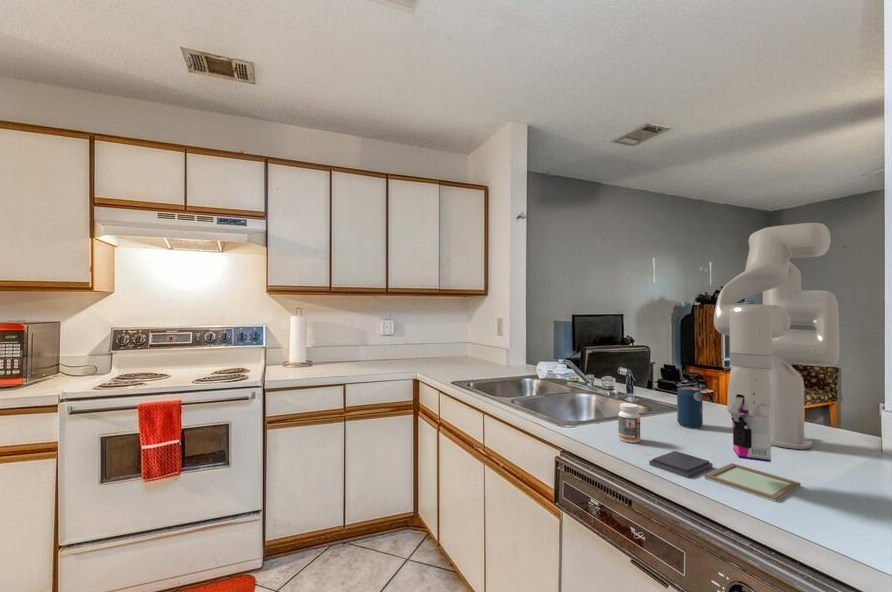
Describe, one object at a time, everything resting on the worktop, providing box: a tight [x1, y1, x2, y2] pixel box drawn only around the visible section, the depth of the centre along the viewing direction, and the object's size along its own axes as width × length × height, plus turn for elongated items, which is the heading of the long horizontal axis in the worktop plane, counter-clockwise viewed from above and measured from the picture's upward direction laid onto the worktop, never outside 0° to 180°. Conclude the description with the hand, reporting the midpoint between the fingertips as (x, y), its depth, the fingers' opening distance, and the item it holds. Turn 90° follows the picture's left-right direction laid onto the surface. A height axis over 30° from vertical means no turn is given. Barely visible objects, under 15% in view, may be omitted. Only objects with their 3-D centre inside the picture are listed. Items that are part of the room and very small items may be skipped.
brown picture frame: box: [704, 462, 802, 502], centre depth 90 cm, size 13×13×1 cm
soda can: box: [676, 385, 704, 430], centre depth 132 cm, size 7×7×12 cm
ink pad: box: [648, 450, 713, 479], centre depth 99 cm, size 11×9×2 cm
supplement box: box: [732, 405, 772, 463], centre depth 90 cm, size 6×6×12 cm
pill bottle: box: [617, 402, 641, 444], centre depth 118 cm, size 6×6×10 cm
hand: (751, 442), depth 90 cm, fingers closed on supplement box, 7 cm apart
